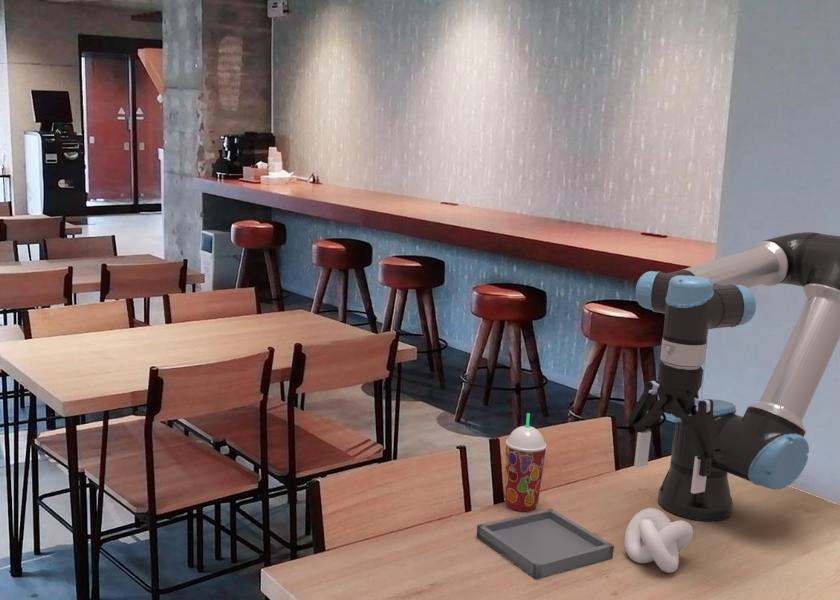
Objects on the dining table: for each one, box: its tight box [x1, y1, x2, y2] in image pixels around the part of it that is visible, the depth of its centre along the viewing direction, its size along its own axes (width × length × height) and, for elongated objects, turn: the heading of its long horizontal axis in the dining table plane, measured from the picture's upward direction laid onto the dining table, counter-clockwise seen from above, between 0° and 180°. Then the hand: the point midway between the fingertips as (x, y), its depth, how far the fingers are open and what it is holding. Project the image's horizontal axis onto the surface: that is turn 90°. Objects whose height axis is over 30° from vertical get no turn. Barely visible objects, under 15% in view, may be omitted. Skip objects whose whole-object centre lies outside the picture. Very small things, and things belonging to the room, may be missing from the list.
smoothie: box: [504, 412, 548, 512], centre depth 186 cm, size 8×8×20 cm
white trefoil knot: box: [623, 507, 694, 574], centre depth 165 cm, size 11×12×9 cm
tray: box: [476, 508, 615, 580], centre depth 169 cm, size 18×18×2 cm
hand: (668, 478), depth 163 cm, fingers open, 13 cm apart
